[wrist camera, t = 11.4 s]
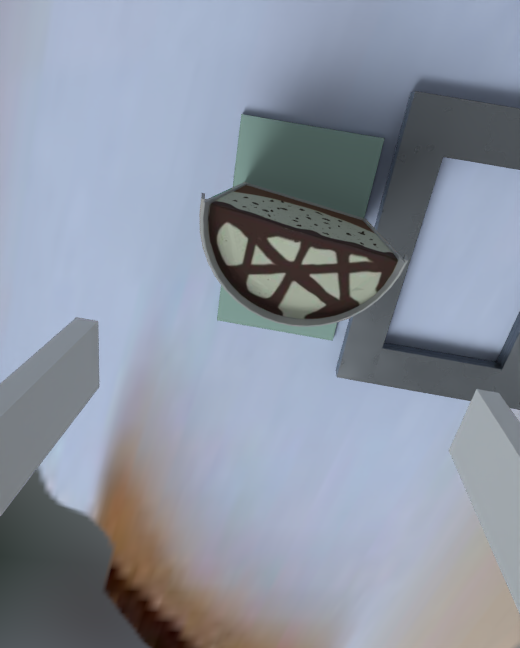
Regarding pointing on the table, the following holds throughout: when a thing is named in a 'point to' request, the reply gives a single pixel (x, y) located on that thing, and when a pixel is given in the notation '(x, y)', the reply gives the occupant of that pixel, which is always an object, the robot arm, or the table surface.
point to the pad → (302, 184)
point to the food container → (295, 256)
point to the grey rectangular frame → (402, 232)
